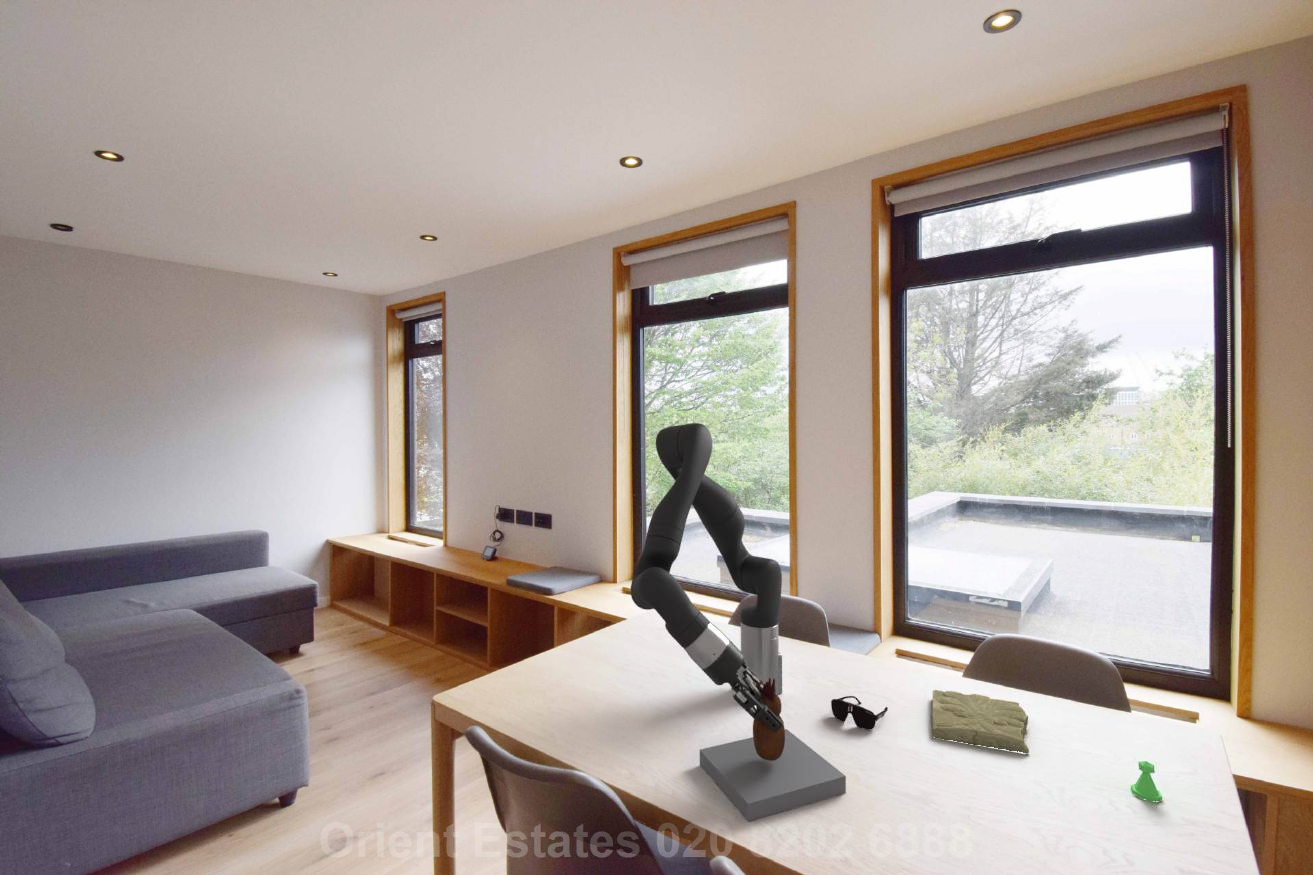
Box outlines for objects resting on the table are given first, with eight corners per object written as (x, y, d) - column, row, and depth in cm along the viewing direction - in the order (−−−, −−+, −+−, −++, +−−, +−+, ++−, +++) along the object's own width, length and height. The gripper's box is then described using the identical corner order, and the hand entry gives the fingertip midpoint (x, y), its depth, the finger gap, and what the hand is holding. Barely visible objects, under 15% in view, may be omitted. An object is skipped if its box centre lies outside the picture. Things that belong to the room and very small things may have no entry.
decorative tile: (932, 740, 123) (932, 723, 123) (932, 700, 141) (932, 685, 141) (1037, 760, 115) (1037, 742, 115) (1023, 715, 134) (1023, 699, 134)
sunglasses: (826, 718, 132) (827, 695, 133) (850, 707, 141) (851, 686, 141) (872, 735, 125) (873, 710, 125) (894, 722, 133) (896, 699, 134)
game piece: (1124, 786, 106) (1124, 753, 106) (1150, 788, 105) (1150, 754, 105) (1142, 801, 102) (1141, 767, 102) (1168, 803, 101) (1168, 768, 101)
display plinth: (786, 743, 122) (786, 728, 121) (845, 792, 105) (845, 775, 105) (699, 764, 114) (699, 749, 114) (748, 821, 97) (748, 803, 97)
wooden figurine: (787, 765, 106) (787, 682, 106) (755, 765, 106) (755, 682, 106) (781, 745, 113) (781, 667, 112) (750, 744, 113) (751, 667, 113)
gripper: (727, 653, 103) (796, 724, 102) (728, 626, 117) (789, 688, 116) (696, 681, 104) (765, 753, 102) (701, 651, 118) (761, 713, 117)
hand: (777, 718), depth 109 cm, fingers closed on wooden figurine, 6 cm apart
